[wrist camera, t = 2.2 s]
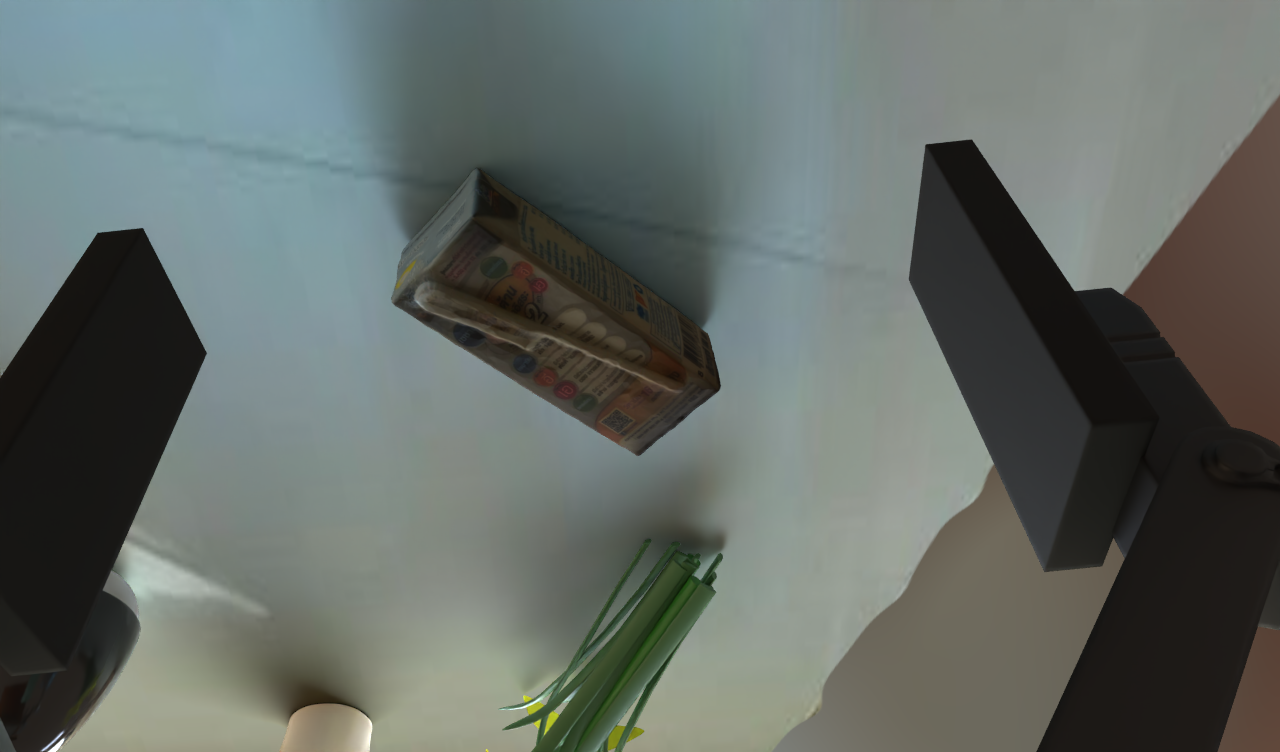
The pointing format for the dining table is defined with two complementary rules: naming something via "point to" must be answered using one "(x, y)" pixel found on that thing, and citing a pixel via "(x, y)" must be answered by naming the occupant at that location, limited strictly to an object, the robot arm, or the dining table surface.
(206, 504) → the dining table surface
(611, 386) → the beverage carton
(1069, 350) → the robot arm
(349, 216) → the dining table surface
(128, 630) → the pump dispenser
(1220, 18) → the dining table surface
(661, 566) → the daffodil flowers
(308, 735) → the water bottle
